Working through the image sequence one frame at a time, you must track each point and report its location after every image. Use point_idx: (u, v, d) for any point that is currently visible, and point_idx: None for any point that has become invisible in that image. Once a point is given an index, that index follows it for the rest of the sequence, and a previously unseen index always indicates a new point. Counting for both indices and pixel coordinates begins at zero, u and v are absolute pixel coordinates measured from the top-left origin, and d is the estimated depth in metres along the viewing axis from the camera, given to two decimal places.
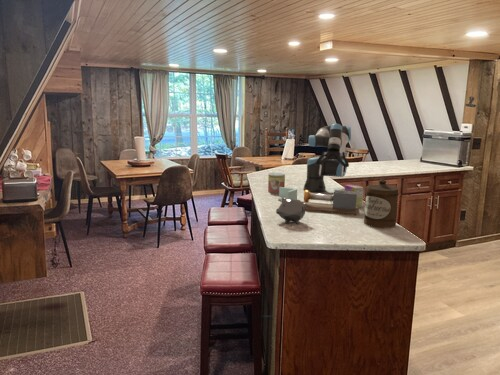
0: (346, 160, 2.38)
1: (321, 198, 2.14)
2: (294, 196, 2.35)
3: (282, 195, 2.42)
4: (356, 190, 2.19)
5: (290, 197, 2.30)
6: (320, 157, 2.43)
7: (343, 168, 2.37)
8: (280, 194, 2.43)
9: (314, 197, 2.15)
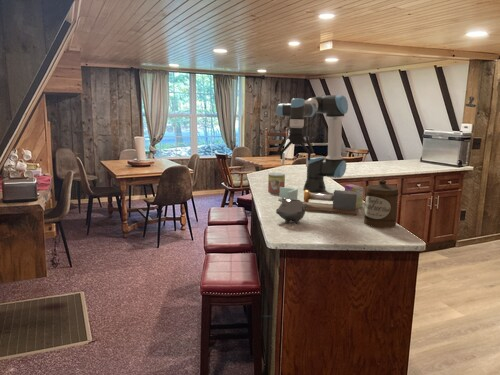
0: (310, 147, 2.12)
1: (321, 198, 2.14)
2: (294, 196, 2.35)
3: (282, 195, 2.42)
4: (356, 190, 2.19)
5: (290, 197, 2.30)
6: (282, 144, 2.16)
7: None
8: (280, 194, 2.43)
9: (314, 197, 2.15)
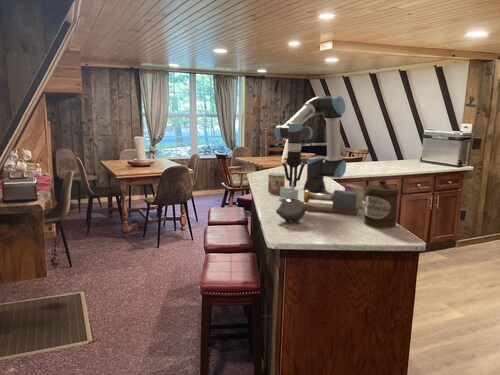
0: (299, 175, 2.15)
1: (321, 198, 2.14)
2: (295, 196, 2.34)
3: (283, 195, 2.42)
4: (356, 190, 2.19)
5: (291, 197, 2.30)
6: (285, 171, 2.17)
7: (294, 184, 2.18)
8: (281, 194, 2.43)
9: (314, 197, 2.15)
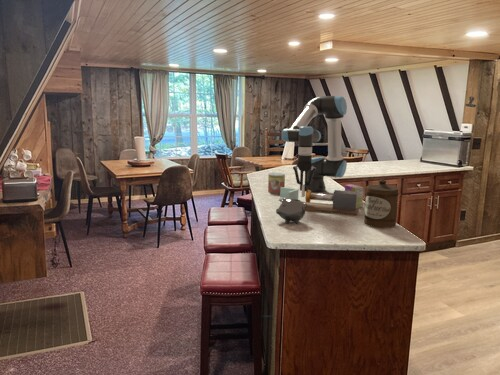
0: (310, 178, 2.14)
1: (323, 198, 2.13)
2: (295, 196, 2.34)
3: (283, 195, 2.42)
4: (356, 190, 2.19)
5: (291, 197, 2.29)
6: (296, 175, 2.16)
7: None
8: (281, 194, 2.42)
9: (316, 197, 2.14)
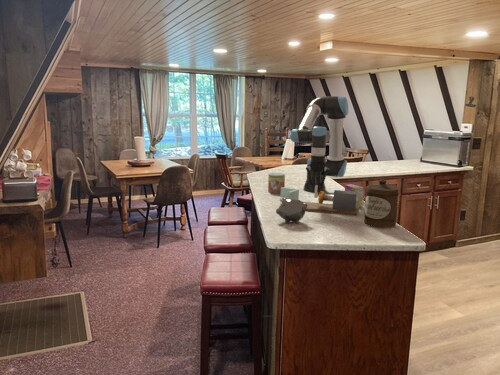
0: (323, 179, 2.12)
1: None
2: (295, 196, 2.34)
3: (284, 195, 2.42)
4: (356, 190, 2.19)
5: (291, 197, 2.29)
6: (309, 175, 2.14)
7: (317, 188, 2.14)
8: (282, 194, 2.42)
9: (329, 198, 2.12)
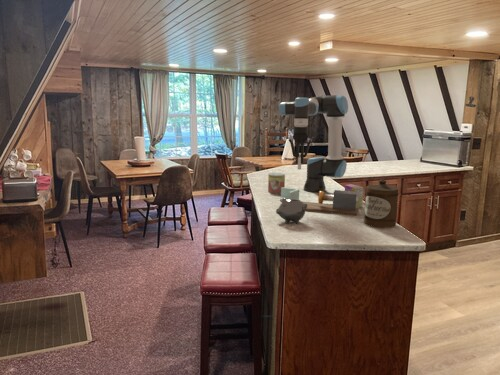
0: (306, 150, 2.12)
1: None
2: (296, 196, 2.34)
3: (284, 195, 2.41)
4: (356, 190, 2.19)
5: (292, 197, 2.29)
6: (292, 147, 2.14)
7: None
8: (282, 194, 2.42)
9: (329, 198, 2.12)
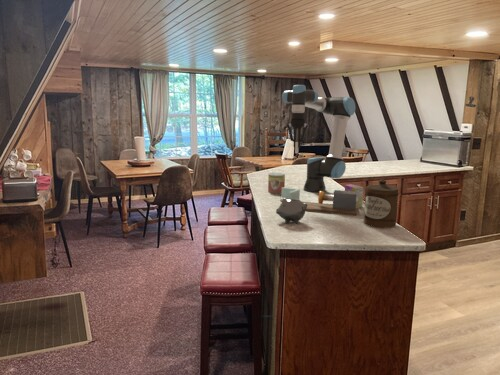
0: (303, 135, 2.24)
1: None
2: (296, 197, 2.33)
3: (284, 195, 2.41)
4: (356, 190, 2.18)
5: (292, 198, 2.28)
6: (290, 132, 2.26)
7: (298, 144, 2.27)
8: (282, 194, 2.42)
9: (329, 198, 2.12)
